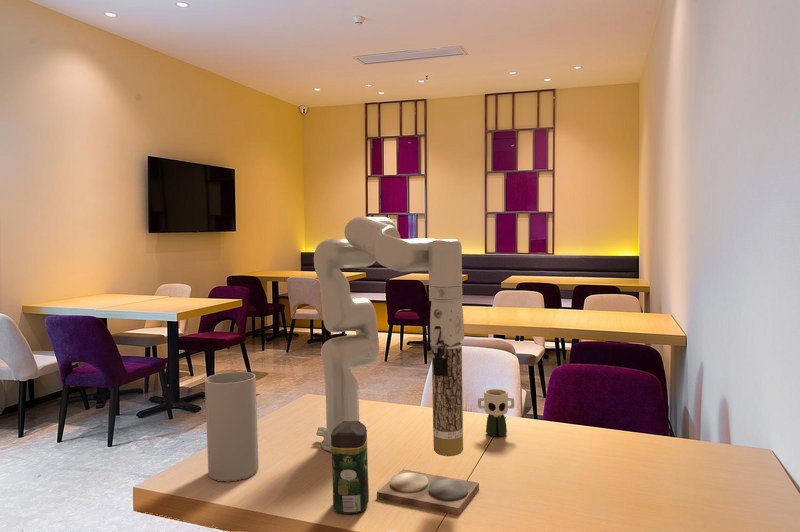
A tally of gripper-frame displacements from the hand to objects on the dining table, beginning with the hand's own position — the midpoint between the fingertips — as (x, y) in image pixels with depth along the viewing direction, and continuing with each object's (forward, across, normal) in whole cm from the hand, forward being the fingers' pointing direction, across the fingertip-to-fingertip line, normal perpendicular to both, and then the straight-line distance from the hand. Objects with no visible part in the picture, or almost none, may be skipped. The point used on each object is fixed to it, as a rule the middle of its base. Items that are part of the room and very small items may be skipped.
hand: (446, 371), depth 131 cm
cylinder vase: (+30, -9, +56) cm, 64 cm away
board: (+29, 0, +5) cm, 30 cm away
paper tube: (+19, 0, 0) cm, 19 cm away
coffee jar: (+30, -12, +19) cm, 37 cm away
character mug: (+30, +45, +2) cm, 54 cm away
